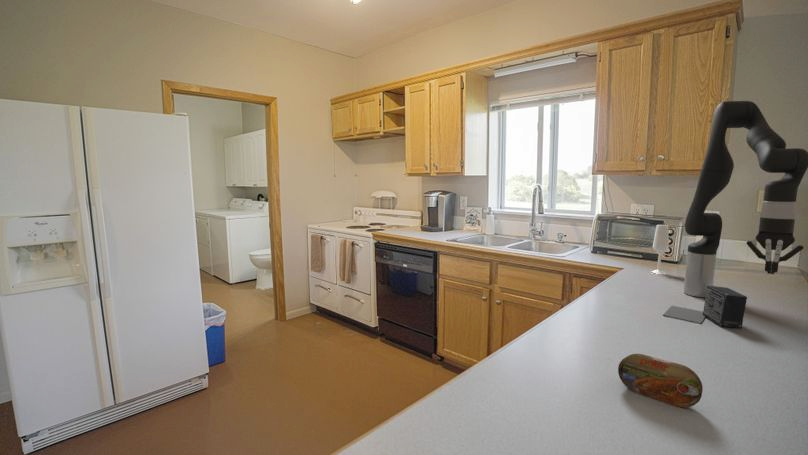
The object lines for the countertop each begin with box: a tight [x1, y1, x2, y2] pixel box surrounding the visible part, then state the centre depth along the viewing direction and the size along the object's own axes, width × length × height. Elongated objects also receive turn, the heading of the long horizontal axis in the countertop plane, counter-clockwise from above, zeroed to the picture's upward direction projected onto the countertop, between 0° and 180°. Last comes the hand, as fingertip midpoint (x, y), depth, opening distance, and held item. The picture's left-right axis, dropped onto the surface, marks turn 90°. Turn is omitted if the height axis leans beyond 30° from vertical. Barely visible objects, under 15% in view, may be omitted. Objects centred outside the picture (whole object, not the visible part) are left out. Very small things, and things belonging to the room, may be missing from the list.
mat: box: [662, 305, 706, 325], centre depth 133 cm, size 14×10×1 cm
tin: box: [617, 353, 704, 408], centre depth 82 cm, size 15×3×8 cm, turn 46°
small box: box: [702, 285, 748, 329], centre depth 125 cm, size 11×6×10 cm, turn 168°
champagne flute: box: [651, 224, 670, 275], centre depth 190 cm, size 7×7×24 cm
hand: (770, 273), depth 117 cm, fingers closed
